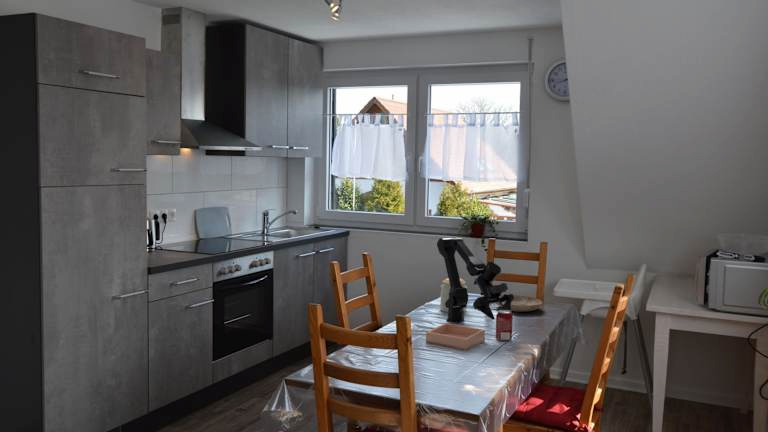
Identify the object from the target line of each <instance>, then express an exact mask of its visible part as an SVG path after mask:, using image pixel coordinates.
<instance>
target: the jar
mask: <svg viewBox="0 0 768 432" xmlns="http://www.w3.org/2000/svg"><path fill="white" fill-rule="evenodd" d="M460 282H461V285H462V287H463V288H466V289H467V290H468V286H467V285H466V283H467V282H466V281H465V280H464V279H463V278H460ZM440 288H441V291H440V304H439V307H440V311H442V312H444V313H448V308H446V306H445V302H446V301H447V300H448V299H449V291H450V288H451V287H450V282H449V278H445V279H443V280H442V284H440ZM463 311H464V313H465V312H466V311H467V306H466V308H463Z"/></svg>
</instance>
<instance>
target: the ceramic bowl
mask: <svg viewBox="0 0 768 432" xmlns="http://www.w3.org/2000/svg"><path fill="white" fill-rule="evenodd" d="M503 295H504V294H502V295H501V296H499V298H502V296H503ZM513 296H514V300H513V301H512V302H511V312H519V313H524V312H532V311H535V310H538V309H540V308H541V307H542V305H543V301H542V300H541V299H539V298H535V297H533V296H528V295H519V294H513ZM495 304H496V305H497V306H498V307H500V308H502V305H500V303H495Z"/></svg>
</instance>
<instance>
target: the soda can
mask: <svg viewBox="0 0 768 432" xmlns="http://www.w3.org/2000/svg"><path fill="white" fill-rule="evenodd" d="M512 338H513V314H512V311H509V310H503V309H499V310H498V311H497V313H496V315H495V339H497V340H498V341H501V342H509V341H510V340H512Z"/></svg>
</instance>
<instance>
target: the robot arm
mask: <svg viewBox="0 0 768 432" xmlns="http://www.w3.org/2000/svg"><path fill="white" fill-rule="evenodd" d="M465 243H466V242H464V240H463V238H461V237H454V238H453V237H444V238H443V237H442V238H439V239H438V240H437V242H436V247H437V250H438V253H439V254H440V255H441V256H442V258H444V263H445V269H446V274H447V277H448V278H449V282H450V287H451V288H450V291H449V299H448V300H447V301H446V302H445V306H446V308H448V312H447V319H446V321H447V322H451V323H458V324H460V323H462V322H464V321H465V312H464V311H463V308H466V309H467V307H466V306H467V305H468V302H469V296H470V295H469V293H468V288H467V289H466V288H463V287H462V285H461V282H460V279H461V277H460V274H459V273H460V272H459V270H458V265H457V262H456V256H455V255H456V252H457V254H458V255H459V256H460V258H461V259H462V260H463V262H464V263H465V264H466V266H465V267H466V271H467V272H468V274H469V276H471V277H477V278H474V282H473V285H475V286H476V285H477V286H478V288H479V290H480V296H478V297H477V298H476V299H475V300H474V302H473V303H472V307H473V308H474V310H477V311H479V312H481V313H482V314H484V315H485V316H487V317H488V318H490V319H491V320H492V321H494V320H496V317H495V315H494V313H493V312H492V309H491V307H490V304H491V305H492V304H496V303H500V305H502V307H501V310H509V311H511V302H512V301H513V300H514V296H513V295H514V294H513V293H511V292H510V293H506V292H507V291H508V290H509V287H508V284H507V283H506V282H502V283H500V284H496V285H494V284H493V283H492V282H493V281H495V280H496V278H497V277H498V276H499V275H500V274H501V271H502V269H501V266H499V265H498V264H496V263H494V261H492V260H491V261H488V262H487V264H486V263H485V262H484V261H482V259H479V258H478V257H476V256H475V255H474V253H473V252H472V251H471V250H470V249H469V247H468V246H467V245H466V244H465ZM503 293H504V294H503ZM501 295H503V296H502V298H499V296H501ZM511 312H512V311H511Z"/></svg>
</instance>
